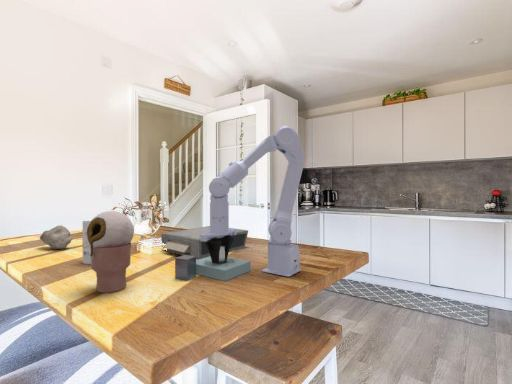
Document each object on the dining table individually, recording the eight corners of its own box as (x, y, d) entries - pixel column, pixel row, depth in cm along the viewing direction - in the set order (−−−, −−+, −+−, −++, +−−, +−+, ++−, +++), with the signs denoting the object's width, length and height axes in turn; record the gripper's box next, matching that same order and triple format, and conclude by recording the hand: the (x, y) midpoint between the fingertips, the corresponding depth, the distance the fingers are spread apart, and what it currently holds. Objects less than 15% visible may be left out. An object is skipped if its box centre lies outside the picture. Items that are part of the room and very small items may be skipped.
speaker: (193, 262, 103) (248, 248, 126) (192, 240, 102) (248, 229, 126) (155, 253, 118) (211, 241, 141) (155, 233, 118) (211, 225, 141)
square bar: (196, 276, 85) (196, 256, 85) (187, 280, 81) (186, 259, 81) (184, 274, 87) (184, 254, 87) (175, 278, 83) (175, 258, 83)
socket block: (250, 270, 91) (250, 261, 91) (225, 281, 81) (225, 270, 81) (214, 263, 99) (214, 255, 99) (188, 272, 89) (187, 262, 89)
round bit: (227, 268, 90) (227, 245, 90) (219, 270, 87) (219, 247, 87) (219, 266, 92) (219, 244, 92) (211, 268, 90) (211, 245, 89)
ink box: (112, 262, 102) (112, 220, 101) (101, 265, 97) (100, 221, 97) (94, 260, 104) (93, 219, 104) (81, 263, 100) (81, 220, 99)
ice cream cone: (77, 295, 70) (76, 212, 70) (103, 281, 81) (102, 209, 80) (121, 296, 69) (120, 213, 69) (141, 281, 80) (140, 209, 80)
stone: (59, 245, 131) (59, 223, 131) (76, 248, 124) (76, 225, 124) (36, 248, 124) (36, 225, 124) (53, 252, 117) (53, 227, 116)
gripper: (224, 214, 98) (225, 255, 98) (192, 218, 86) (192, 264, 86) (241, 216, 94) (241, 257, 94) (210, 220, 82) (210, 268, 82)
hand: (219, 261), depth 90 cm, fingers closed on round bit, 3 cm apart
